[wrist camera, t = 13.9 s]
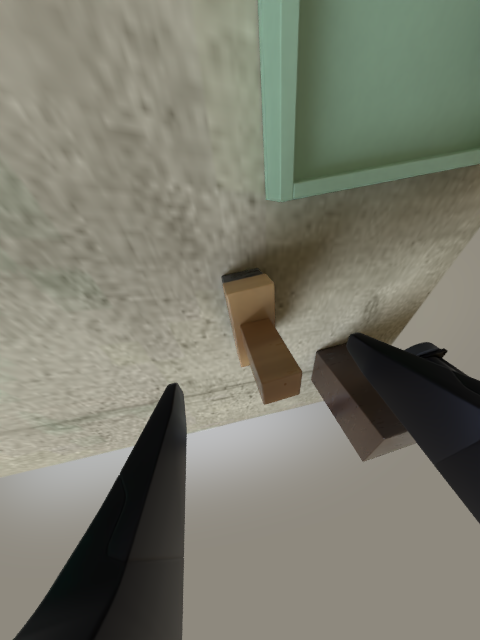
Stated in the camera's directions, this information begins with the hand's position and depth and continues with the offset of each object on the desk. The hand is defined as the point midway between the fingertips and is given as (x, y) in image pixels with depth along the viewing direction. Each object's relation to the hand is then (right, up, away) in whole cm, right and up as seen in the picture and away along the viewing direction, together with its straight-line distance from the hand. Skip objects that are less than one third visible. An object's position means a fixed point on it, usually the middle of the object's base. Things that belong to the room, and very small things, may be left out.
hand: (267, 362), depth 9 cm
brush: (-1, +3, +4) cm, 5 cm away
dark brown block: (+9, -2, +11) cm, 14 cm away
